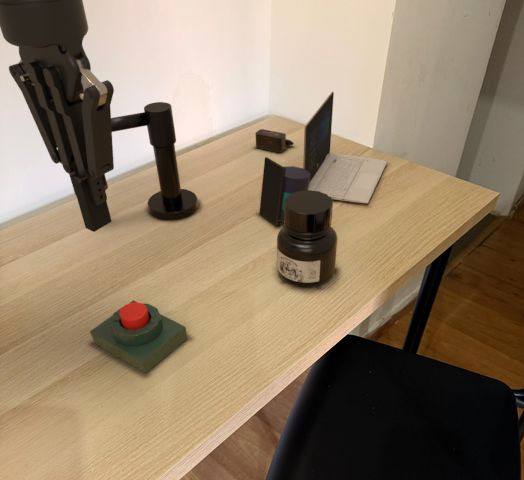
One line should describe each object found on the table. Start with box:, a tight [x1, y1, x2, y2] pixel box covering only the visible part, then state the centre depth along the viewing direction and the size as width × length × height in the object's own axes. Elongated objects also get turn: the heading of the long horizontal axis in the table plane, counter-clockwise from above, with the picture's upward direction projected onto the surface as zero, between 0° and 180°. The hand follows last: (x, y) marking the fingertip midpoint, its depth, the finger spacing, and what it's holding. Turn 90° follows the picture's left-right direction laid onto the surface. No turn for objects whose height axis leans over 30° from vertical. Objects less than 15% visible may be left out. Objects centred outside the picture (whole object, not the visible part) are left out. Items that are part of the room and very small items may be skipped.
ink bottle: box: [276, 190, 338, 288], centre depth 79 cm, size 10×9×12 cm
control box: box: [89, 299, 188, 374], centre depth 71 cm, size 10×8×4 cm
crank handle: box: [102, 101, 177, 191], centre depth 88 cm, size 16×4×11 cm, turn 113°
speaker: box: [258, 156, 311, 228], centre depth 91 cm, size 8×6×10 cm
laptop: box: [302, 90, 388, 204], centre depth 99 cm, size 18×12×13 cm
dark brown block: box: [255, 128, 294, 153], centre depth 114 cm, size 5×7×3 cm, turn 61°
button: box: [119, 301, 149, 330], centre depth 69 cm, size 4×4×2 cm
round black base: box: [147, 144, 199, 221], centre depth 94 cm, size 9×9×12 cm
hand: (98, 224), depth 63 cm, fingers closed
